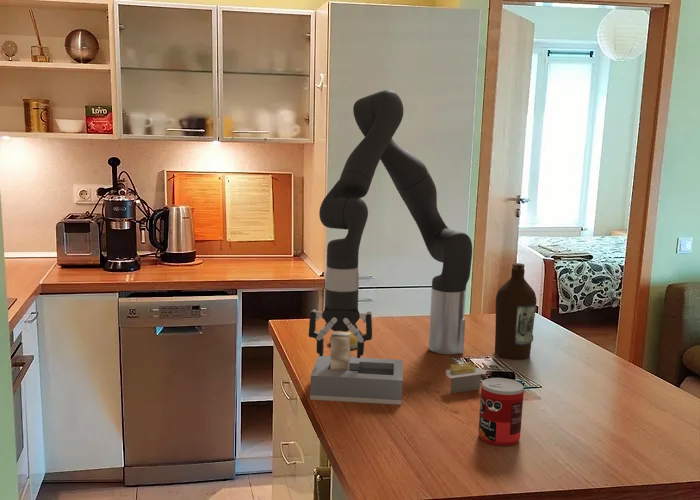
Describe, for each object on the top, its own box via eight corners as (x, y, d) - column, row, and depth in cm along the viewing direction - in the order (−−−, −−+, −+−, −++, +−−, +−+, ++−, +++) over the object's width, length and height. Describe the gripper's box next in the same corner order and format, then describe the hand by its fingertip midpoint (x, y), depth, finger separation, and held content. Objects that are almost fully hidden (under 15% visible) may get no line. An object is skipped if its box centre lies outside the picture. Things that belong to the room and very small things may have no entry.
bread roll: (346, 352, 183) (346, 337, 182) (325, 344, 190) (325, 330, 189) (368, 346, 188) (368, 332, 188) (347, 339, 195) (347, 325, 194)
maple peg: (353, 381, 158) (355, 331, 156) (351, 390, 152) (353, 339, 150) (327, 379, 158) (329, 330, 156) (324, 389, 152) (326, 337, 150)
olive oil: (484, 351, 186) (489, 262, 182) (511, 346, 192) (517, 259, 188) (513, 363, 177) (519, 269, 173) (540, 356, 183) (547, 266, 179)
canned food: (473, 429, 135) (476, 377, 134) (512, 429, 136) (516, 377, 134) (484, 447, 128) (487, 391, 126) (525, 446, 129) (529, 391, 127)
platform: (416, 387, 159) (417, 360, 158) (480, 378, 166) (482, 352, 165) (443, 406, 148) (444, 377, 147) (510, 395, 155) (512, 368, 154)
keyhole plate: (401, 382, 161) (402, 359, 160) (401, 404, 147) (402, 380, 146) (318, 377, 162) (318, 355, 161) (310, 399, 149) (310, 375, 148)
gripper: (374, 284, 154) (372, 352, 157) (312, 281, 155) (311, 349, 158) (372, 291, 147) (370, 363, 150) (307, 288, 148) (306, 359, 151)
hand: (339, 356), depth 154 cm, fingers open, 8 cm apart
